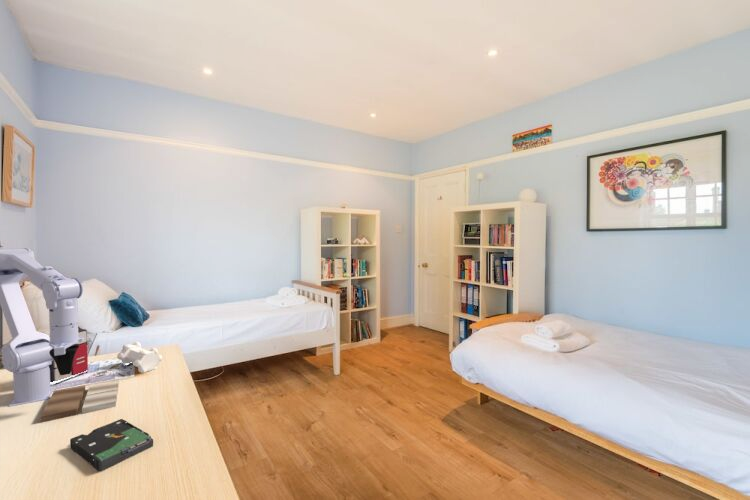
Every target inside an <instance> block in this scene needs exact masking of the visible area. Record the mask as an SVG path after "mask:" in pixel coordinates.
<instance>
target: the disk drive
mask: <svg viewBox="0 0 750 500" xmlns="http://www.w3.org/2000/svg"><path fill="white" fill-rule="evenodd" d="M69 442H70V443H69V444H70V447H69V448H70V449H71V451H72V452H73V453H75V454H76V455H78V456H80V457H81V458H82V459H83V460H85V462H87V463H88V464H89V465H91V466H92V467H93V468H94V469H95V470H97V471H98V472H100V473H101V472H104V471H106V470H108V469H109V468H112V467H114V466H116V465H118V464H120V463H121V462H124V461H126V460H128V459H130V458H132V457H134V456H137V455H138V454H140V453H143V452H144V451H146V450H149V449H151V448H153V447H154V439H153V438H152V436H151V435H150V434H149V433H148V432H145V431H144V430H142V429H140V428H138V427H137V426H135V425H133V424H132V423H130V422H129V421H127V420H125V419H123V418H121V419H117V420H114V421H112V422H111V423H108V424H106V425H101V426H100V427H97V428H94V429H93V430H91V432H89V433H88V434H80V435H77V436H75V437H71V438H70V441H69Z"/></svg>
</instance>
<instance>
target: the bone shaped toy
mask: <svg viewBox="0 0 750 500" xmlns="http://www.w3.org/2000/svg"><path fill="white" fill-rule="evenodd" d="M116 357H117V359H118V360H120V361H121V363H122V362H123V363H130V362H132V363H133V366H134V367H136V368H138V369H137V371H138V372H139V373H140V374H146V373H147V372H149V371H156V370H157V369H158V365H159V363H160V362H161V361H162V360H163V356H162V354H159V351H158V349H157V348H155V347H150V349H148V350H146V349H145V348H142V344H141V342H139V341H135V342H134V343H133V344H129V343H125V344H123V345H122V349H121V350H120V352H119V353H117V356H116Z"/></svg>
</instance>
